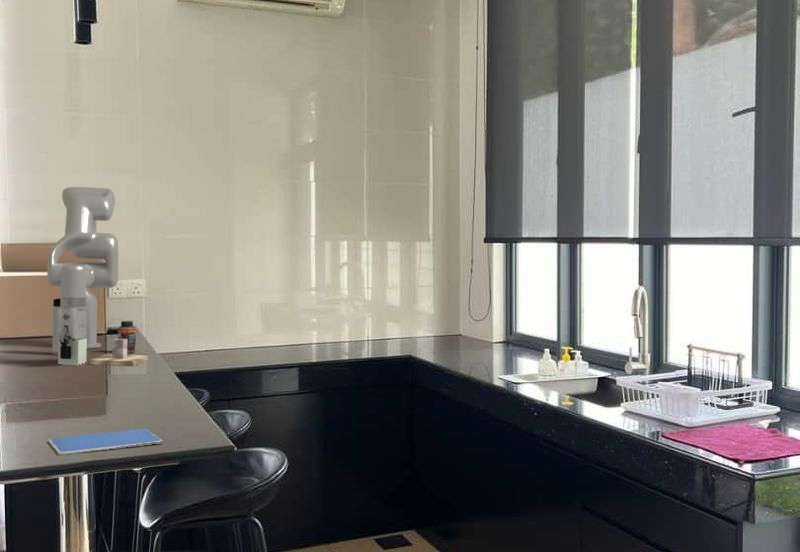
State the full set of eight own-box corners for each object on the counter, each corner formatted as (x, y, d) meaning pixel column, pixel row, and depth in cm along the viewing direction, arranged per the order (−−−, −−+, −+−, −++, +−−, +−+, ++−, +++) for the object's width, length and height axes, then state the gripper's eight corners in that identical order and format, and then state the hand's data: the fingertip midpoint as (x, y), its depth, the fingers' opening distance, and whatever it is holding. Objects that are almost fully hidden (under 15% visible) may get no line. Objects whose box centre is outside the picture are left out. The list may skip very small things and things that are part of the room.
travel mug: (68, 355, 273) (69, 297, 272) (49, 355, 273) (49, 296, 272) (76, 353, 279) (76, 296, 278) (57, 352, 279) (58, 295, 278)
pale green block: (57, 364, 252) (58, 340, 252) (66, 361, 259) (67, 337, 259) (78, 365, 252) (78, 340, 252) (86, 362, 259) (86, 338, 258)
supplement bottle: (138, 351, 287) (138, 320, 287) (131, 354, 281) (131, 322, 281) (122, 351, 288) (122, 319, 287) (114, 353, 282) (115, 321, 281)
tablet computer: (58, 459, 146) (59, 452, 146) (46, 443, 157) (46, 437, 157) (164, 447, 157) (164, 440, 157) (146, 433, 167) (146, 427, 167)
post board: (89, 364, 254) (90, 341, 254) (106, 358, 268) (106, 336, 268) (133, 366, 254) (133, 342, 254) (147, 359, 268) (148, 337, 268)
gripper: (73, 305, 246) (72, 360, 247) (95, 302, 263) (94, 353, 264) (49, 304, 246) (48, 360, 247) (73, 301, 264) (72, 353, 264)
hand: (72, 356), depth 255 cm, fingers open, 9 cm apart
